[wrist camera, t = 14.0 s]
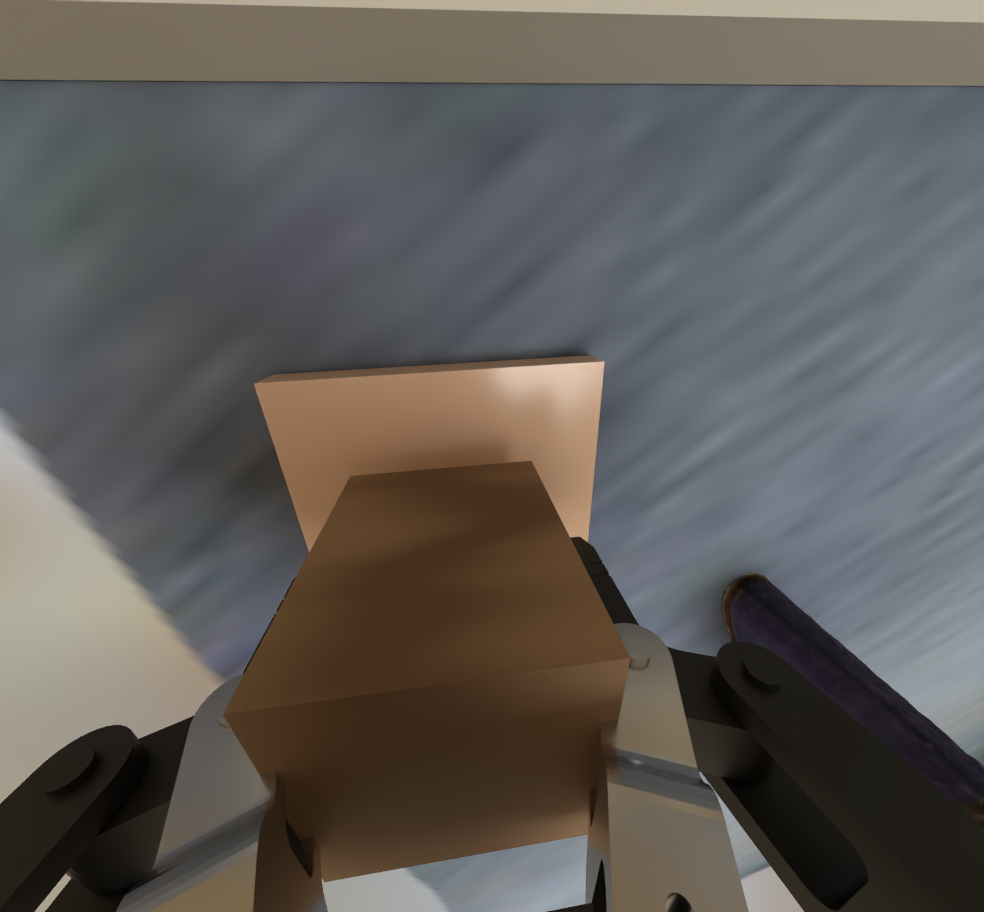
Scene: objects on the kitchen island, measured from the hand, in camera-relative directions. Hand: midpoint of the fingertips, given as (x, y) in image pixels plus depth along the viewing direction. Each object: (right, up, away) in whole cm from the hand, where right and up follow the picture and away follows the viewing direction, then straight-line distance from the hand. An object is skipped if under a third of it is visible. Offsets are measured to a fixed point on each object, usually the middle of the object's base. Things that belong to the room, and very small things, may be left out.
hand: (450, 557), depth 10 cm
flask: (+15, -6, +9) cm, 19 cm away
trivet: (0, +1, +3) cm, 3 cm away
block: (0, 0, +1) cm, 1 cm away
